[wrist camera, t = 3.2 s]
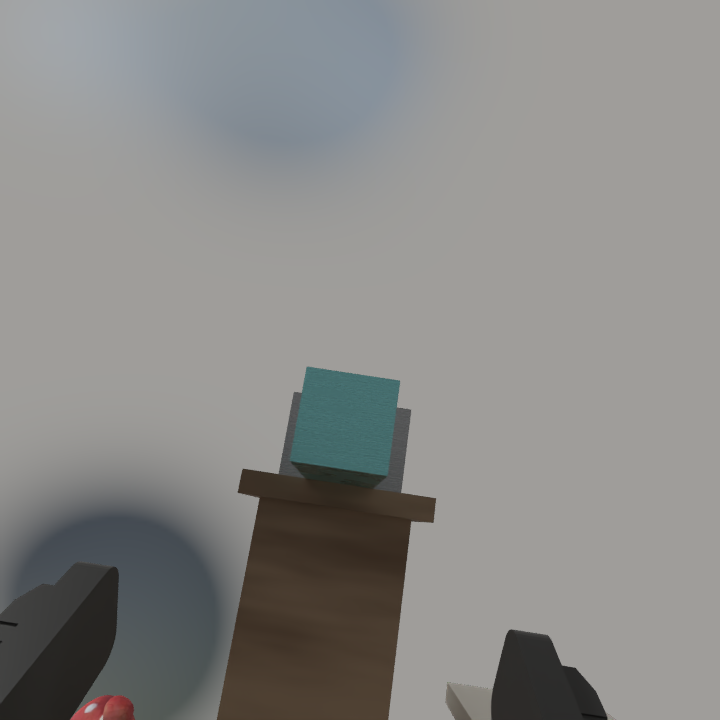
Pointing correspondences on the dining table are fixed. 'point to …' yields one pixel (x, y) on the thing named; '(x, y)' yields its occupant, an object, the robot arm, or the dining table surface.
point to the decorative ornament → (106, 709)
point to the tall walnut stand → (319, 600)
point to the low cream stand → (472, 702)
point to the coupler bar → (347, 431)
